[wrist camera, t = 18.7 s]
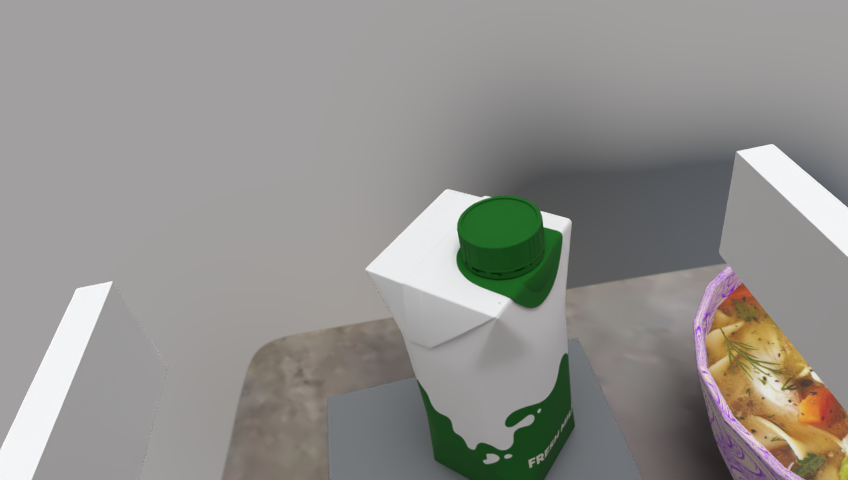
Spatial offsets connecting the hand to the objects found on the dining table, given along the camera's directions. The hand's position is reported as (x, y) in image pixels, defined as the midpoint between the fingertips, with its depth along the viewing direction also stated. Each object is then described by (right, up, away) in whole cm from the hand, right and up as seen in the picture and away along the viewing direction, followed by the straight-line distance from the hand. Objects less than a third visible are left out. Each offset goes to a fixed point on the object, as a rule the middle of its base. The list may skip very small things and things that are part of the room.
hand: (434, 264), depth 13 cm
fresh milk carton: (+5, -13, +29) cm, 33 cm away
